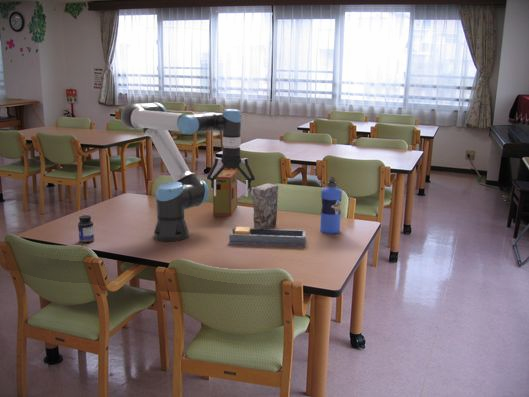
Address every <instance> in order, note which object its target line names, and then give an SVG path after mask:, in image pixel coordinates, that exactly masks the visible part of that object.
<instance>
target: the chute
mask: <svg viewBox="0 0 529 397" xmlns="http://www.w3.org/2000/svg"><path fill="white" fill-rule="evenodd" d="M235 229H236V227H232V233H229V235H228V236H229V239H228V241H229V242H228V245H239V246H265V247H286V248H287V247H290V248H305V247H306V235H307V234H306V230H305V229H282V228H279V229H277V228H269V229H258V228H254V227H253V228H252V227H250V234H235Z"/></svg>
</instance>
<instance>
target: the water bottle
mask: <svg viewBox="0 0 529 397" xmlns="http://www.w3.org/2000/svg"><path fill="white" fill-rule="evenodd" d="M336 181H337V179H336V178H335V177H333V176H331V177H329V178H327V181H326V185H327V186H326V187H324V188H322V189H321V190H320V191H321V193H320V198H321V210H320V226H319V227H320V232H321V233H322V234H327V235H328V234H329V235H335V234H339V233H341V217H342V215H341V214H342V211H341V203H342V198H343V190H342V189H340V188H338V187H337V182H336Z"/></svg>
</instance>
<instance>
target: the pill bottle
mask: <svg viewBox="0 0 529 397" xmlns="http://www.w3.org/2000/svg"><path fill="white" fill-rule="evenodd" d="M78 219H79V222H78V223H77V230H78V238H79V239H78V240H79V241H78V242H79V243H81V242H90V243H92V241H93V240H94V241H95V233H94V222H93V221H92V220H91V219H92V216H91V215H89V214H88V215H87V214H85V215H80V216H79V217H78ZM94 241H93V242H94Z"/></svg>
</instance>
